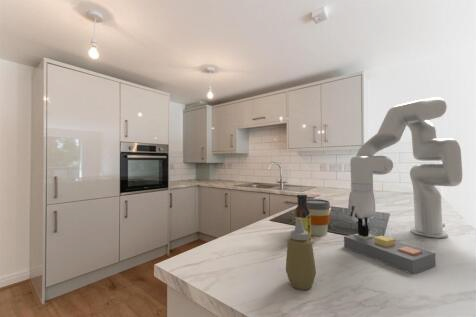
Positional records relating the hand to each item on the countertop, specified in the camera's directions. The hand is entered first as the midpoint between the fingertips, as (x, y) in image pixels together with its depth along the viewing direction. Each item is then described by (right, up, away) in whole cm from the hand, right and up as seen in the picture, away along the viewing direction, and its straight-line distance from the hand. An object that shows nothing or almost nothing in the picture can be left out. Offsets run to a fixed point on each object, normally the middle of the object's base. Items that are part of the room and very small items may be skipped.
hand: (363, 235), depth 85 cm
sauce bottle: (-21, -6, +8) cm, 23 cm away
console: (+3, -5, -7) cm, 9 cm away
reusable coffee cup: (-11, -6, +19) cm, 23 cm away
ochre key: (+3, -1, -7) cm, 8 cm away
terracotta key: (+7, -2, -15) cm, 16 cm away
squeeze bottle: (-31, -5, -25) cm, 40 cm away
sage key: (0, -2, 0) cm, 2 cm away
